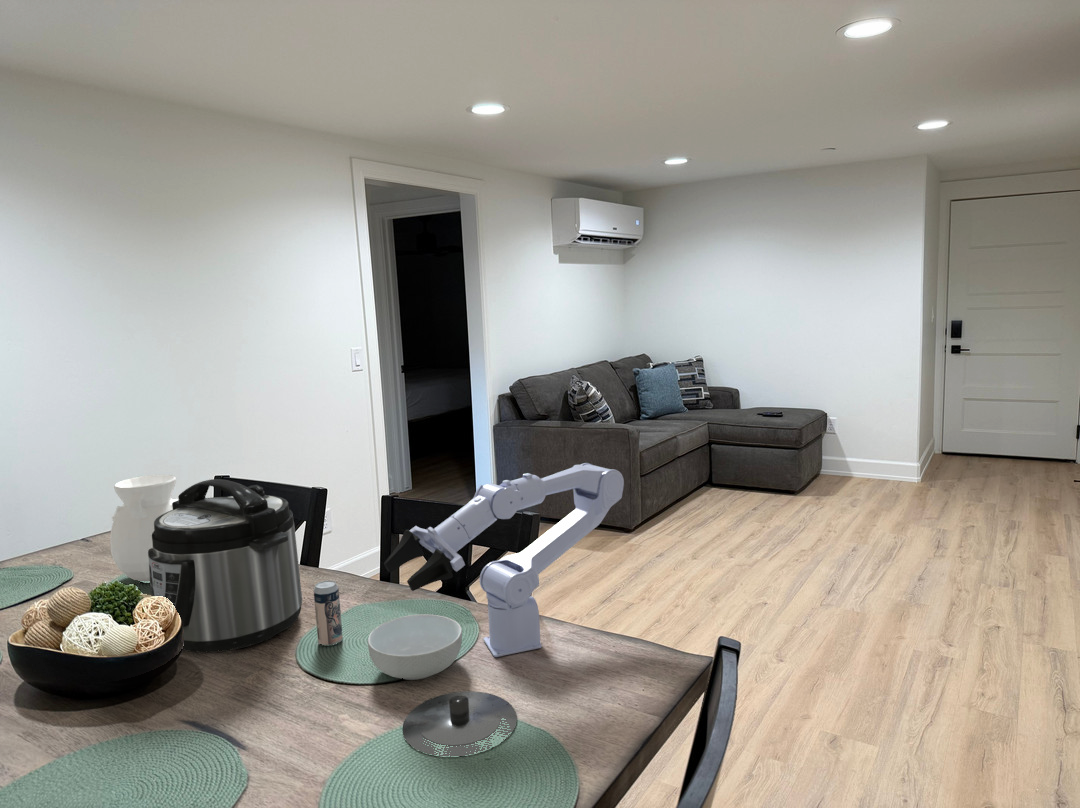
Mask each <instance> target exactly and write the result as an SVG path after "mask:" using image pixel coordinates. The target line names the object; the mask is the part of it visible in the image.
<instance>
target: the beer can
mask: <svg viewBox="0 0 1080 808" xmlns="http://www.w3.org/2000/svg"><path fill="white" fill-rule="evenodd" d="M339 589H340V588H339V586H338V584H337V583H336V581H335V580H322V581H320V582H318V583H317V584H315V586H314V588H313V600H314V610H315V622H316V624H315V625H316V632H317V633H316V635H317V643H318V644H319V645H320V644H322V645H321V646H323V645H333V644H336V643H338V642H339V643H340V642H342V641H343V638H344V637H343V627H342V615H341V603H340V602H341V600H340V590H339ZM339 643H338V644H339ZM336 645H337V644H336ZM333 646H334V645H333Z"/></svg>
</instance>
